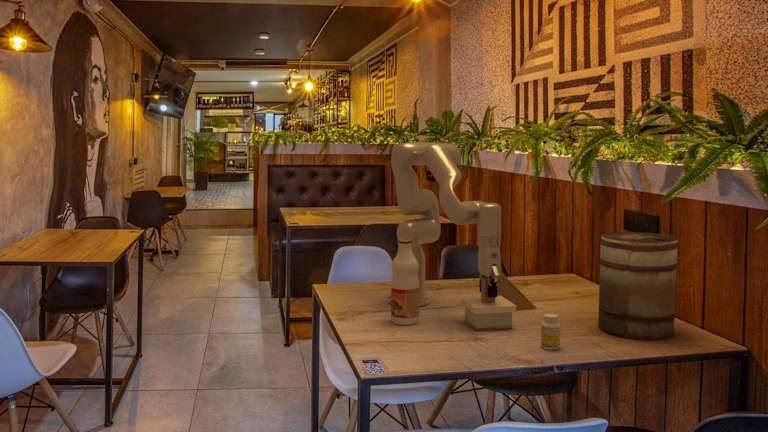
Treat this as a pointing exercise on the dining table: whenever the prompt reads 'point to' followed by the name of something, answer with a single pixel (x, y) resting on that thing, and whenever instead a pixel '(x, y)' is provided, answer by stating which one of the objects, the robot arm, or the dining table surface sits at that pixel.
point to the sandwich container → (513, 294)
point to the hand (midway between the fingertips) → (488, 294)
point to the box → (489, 320)
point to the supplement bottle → (550, 332)
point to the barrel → (637, 285)
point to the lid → (487, 302)
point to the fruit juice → (404, 285)
